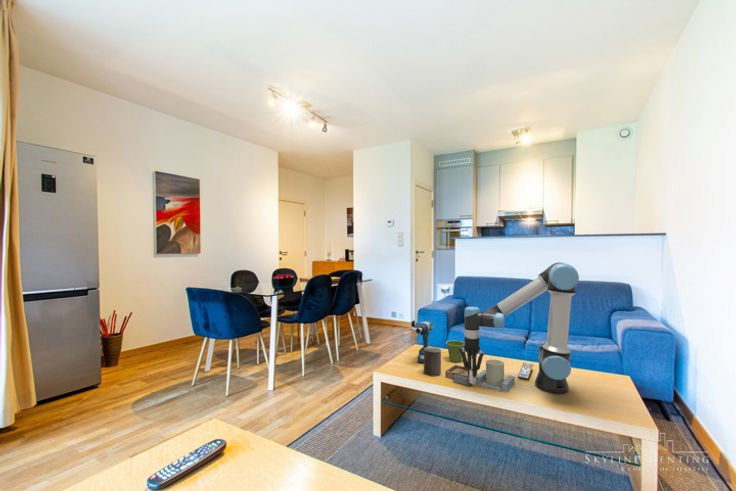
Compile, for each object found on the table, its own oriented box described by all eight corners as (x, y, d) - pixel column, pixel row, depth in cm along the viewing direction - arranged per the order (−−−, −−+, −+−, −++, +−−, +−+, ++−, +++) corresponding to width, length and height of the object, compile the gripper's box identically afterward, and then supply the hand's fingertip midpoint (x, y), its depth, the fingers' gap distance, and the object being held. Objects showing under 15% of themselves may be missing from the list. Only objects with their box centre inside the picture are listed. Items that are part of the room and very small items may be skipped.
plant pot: (453, 356, 224) (453, 339, 224) (468, 361, 215) (468, 343, 215) (441, 360, 216) (441, 342, 216) (457, 365, 207) (457, 346, 207)
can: (489, 379, 186) (489, 357, 186) (506, 383, 180) (506, 361, 180) (482, 384, 179) (482, 361, 179) (500, 389, 173) (500, 365, 173)
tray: (477, 375, 190) (477, 369, 190) (467, 383, 180) (467, 376, 180) (455, 370, 198) (455, 364, 198) (445, 377, 188) (445, 370, 188)
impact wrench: (411, 366, 205) (411, 325, 205) (423, 355, 225) (423, 318, 225) (424, 368, 201) (424, 326, 201) (435, 357, 221) (435, 319, 221)
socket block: (515, 383, 180) (515, 376, 180) (506, 393, 168) (506, 385, 168) (485, 376, 190) (485, 369, 190) (474, 384, 178) (474, 377, 178)
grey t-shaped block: (472, 383, 179) (472, 377, 179) (469, 386, 176) (469, 379, 176) (456, 379, 184) (456, 372, 184) (452, 381, 181) (452, 375, 181)
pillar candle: (425, 376, 190) (426, 349, 189) (422, 370, 199) (422, 344, 199) (442, 376, 190) (443, 349, 190) (438, 370, 200) (439, 344, 200)
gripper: (486, 337, 175) (486, 383, 175) (462, 333, 184) (462, 377, 184) (481, 340, 170) (481, 388, 170) (457, 336, 178) (457, 381, 178)
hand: (471, 382), depth 177 cm, fingers closed
